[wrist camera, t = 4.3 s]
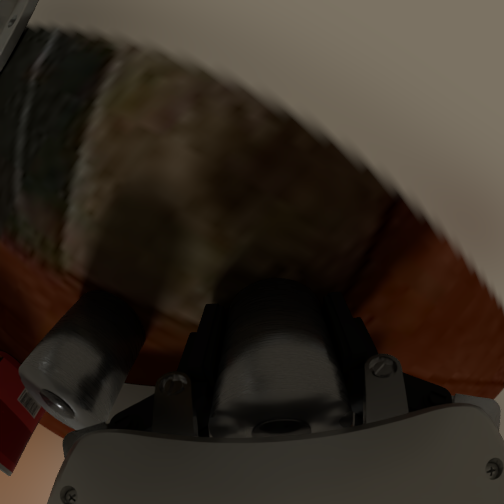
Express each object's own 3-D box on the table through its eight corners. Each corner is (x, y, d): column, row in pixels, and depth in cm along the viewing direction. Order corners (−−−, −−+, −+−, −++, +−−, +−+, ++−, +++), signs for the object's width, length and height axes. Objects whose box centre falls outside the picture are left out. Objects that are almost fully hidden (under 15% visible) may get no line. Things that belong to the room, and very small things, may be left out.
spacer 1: (67, 291, 12) (3, 358, 7) (128, 288, 12) (63, 377, 6) (96, 351, 14) (52, 422, 8) (155, 355, 14) (118, 444, 8)
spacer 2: (220, 283, 12) (190, 396, 6) (322, 273, 11) (365, 382, 6) (235, 356, 13) (223, 460, 8) (320, 348, 13) (343, 451, 7)
